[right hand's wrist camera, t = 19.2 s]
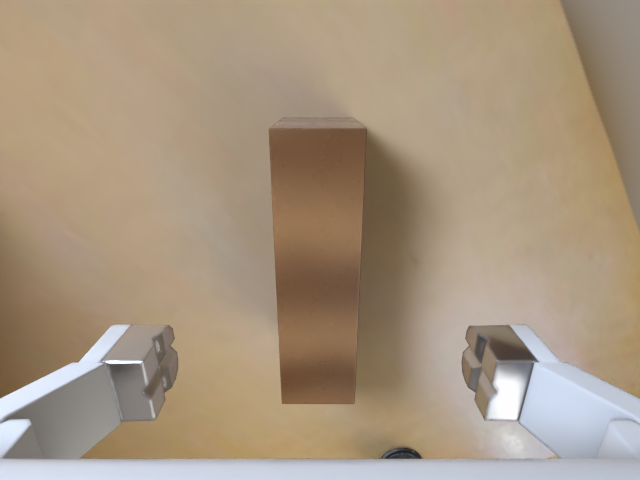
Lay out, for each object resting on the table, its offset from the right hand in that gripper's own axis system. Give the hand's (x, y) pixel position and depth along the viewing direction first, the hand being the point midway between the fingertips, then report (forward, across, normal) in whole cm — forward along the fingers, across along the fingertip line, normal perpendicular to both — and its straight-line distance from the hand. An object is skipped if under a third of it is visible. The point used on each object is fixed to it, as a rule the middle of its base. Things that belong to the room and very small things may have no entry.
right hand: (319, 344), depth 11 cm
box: (+25, 0, -7) cm, 26 cm away
